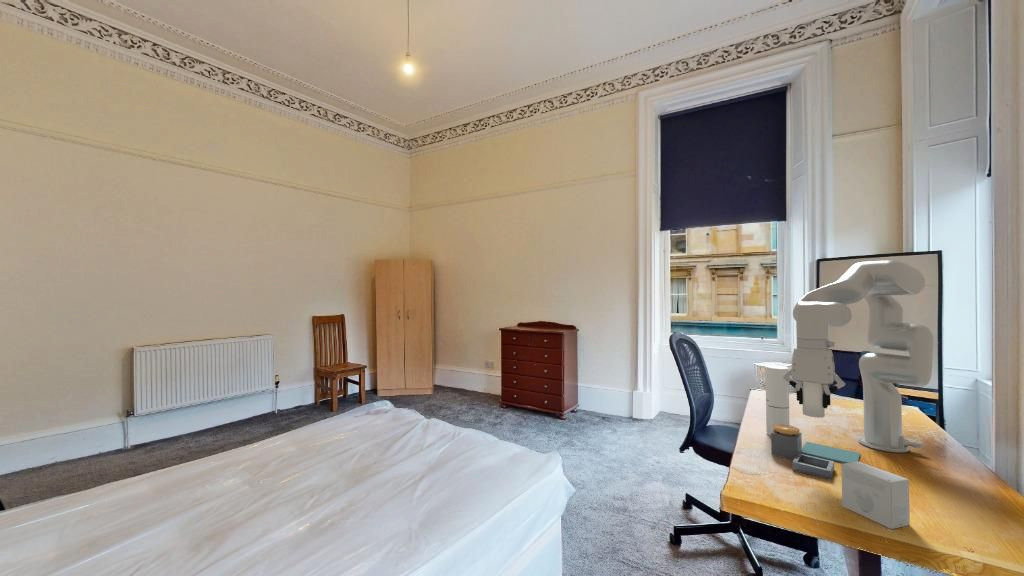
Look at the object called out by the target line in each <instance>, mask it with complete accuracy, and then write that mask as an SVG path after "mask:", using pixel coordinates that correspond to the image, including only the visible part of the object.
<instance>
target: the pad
mask: <svg viewBox="0 0 1024 576" xmlns="http://www.w3.org/2000/svg"><path fill="white" fill-rule="evenodd" d="M802 454H804V455H808V456H813V457H817V458H821V459H826V460H830V461H834V463H835V462H836V463H840V464H844V463H851V462H860V457H861V453H860V452H857V451H853V450H848V449H843V448H839V447H834V446H829V445H825V444H821V443H816V442H811V441H806V442H805V443H804V444H803V445H802Z"/></svg>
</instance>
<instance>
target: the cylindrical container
mask: <svg viewBox="0 0 1024 576" xmlns="http://www.w3.org/2000/svg"><path fill="white" fill-rule="evenodd" d="M789 371H790V369H789V367H787V366H784V365H783V366H782V365H774V364H773V365H765V416H766V417H765V420H766V422H765V423H766V425H765V426H766V427H765V429H766V430H765V431H766V432H767V433H766V434H767V435H768V434H769V435H768V436H770V435H771V433H772V432H773V430H774V429H773V426H774V425H776V424H784V425H790V383H789V382H787V381H786V380H785V379H783V376H784V375H785V374H786V373H787V372H789ZM790 426H791V425H790Z"/></svg>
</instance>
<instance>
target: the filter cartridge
mask: <svg viewBox="0 0 1024 576" xmlns="http://www.w3.org/2000/svg"><path fill="white" fill-rule="evenodd" d="M824 392H825V391H824V388H823V386H822V384H820V383H813V382H805V381H804V382H803V383H802V402H803V404H802V415H804V416H806V417H811V418H819V419H820V418H825V417H826V415H825V411H826V408H823V394H824Z"/></svg>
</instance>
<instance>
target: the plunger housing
mask: <svg viewBox="0 0 1024 576" xmlns="http://www.w3.org/2000/svg"><path fill="white" fill-rule="evenodd" d="M802 433H803V432H800V434H797V435H793V436H789V435H784V434H780V433H779V432H777V431H775V430H773V432H772V433H771V436H770V439H771V443H770V444H771V446H770V447H771V450H770V451H771V455H772V456H775V455H776V457H780V458H784V459H789V460H792V461H793V460H794V459H795V457H796V456H797V454H798V453H800V454H802V448H803V444H802V440H803V438H802V437H803V436H802V435H803V434H802Z"/></svg>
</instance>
